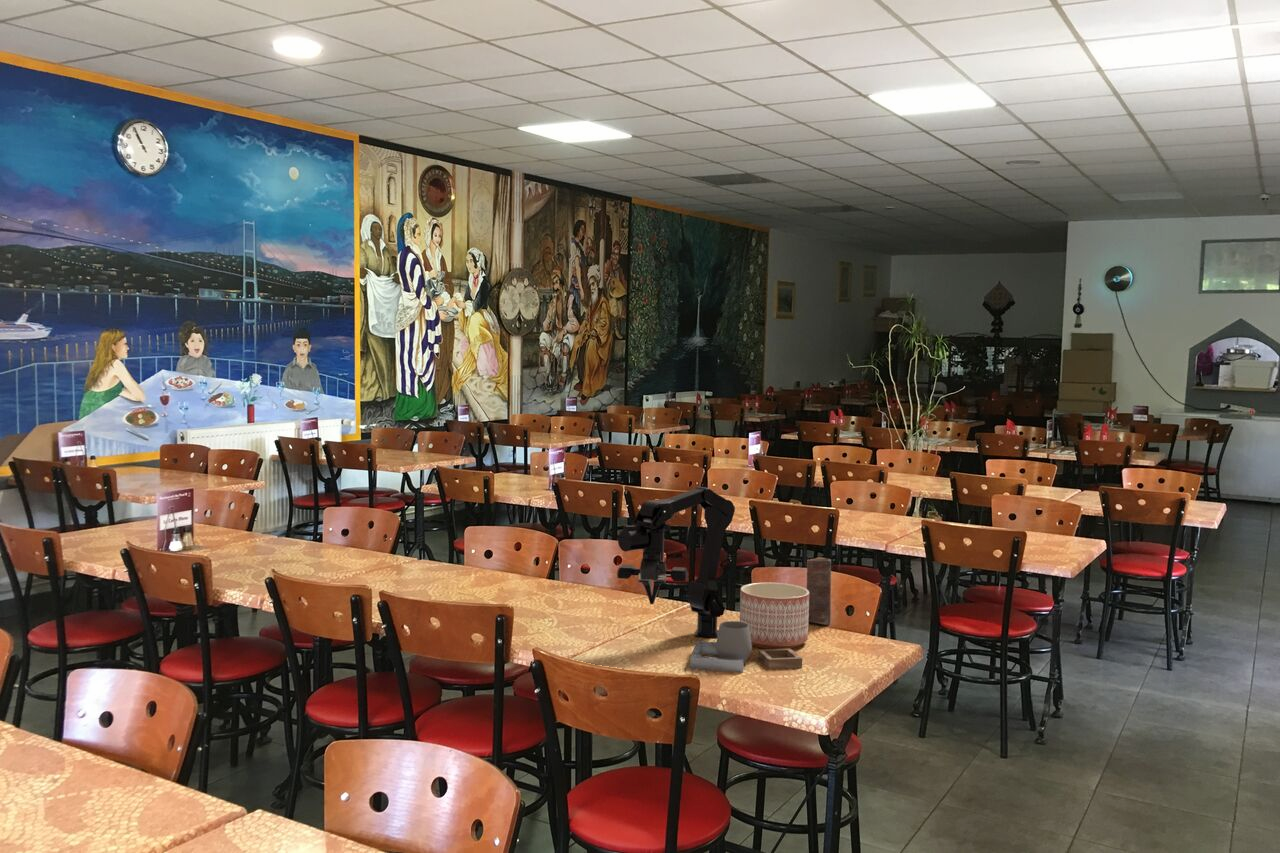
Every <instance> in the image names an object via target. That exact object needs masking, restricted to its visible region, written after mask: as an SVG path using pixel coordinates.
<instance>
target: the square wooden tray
mask: <svg viewBox="0 0 1280 853" xmlns="http://www.w3.org/2000/svg"><path fill="white" fill-rule="evenodd" d="M757 660H759V662H760V663H762V664H763V665H764V666H765V667H766V668H767V669H768V670H776V669H777V670H778V669H781V670H782V669H797V668H798V669H799V668H803V658H802V656H800V655H799V654H797V653H796V652H795V651H794V650H793V648H789V649H766V648H763V649H758V650H757Z"/></svg>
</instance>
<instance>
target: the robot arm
mask: <svg viewBox="0 0 1280 853" xmlns="http://www.w3.org/2000/svg"><path fill="white" fill-rule="evenodd" d="M694 506H699V507H700V508H701V509H703V510H704V521H705V524H706V528H707V529H706V533H705V539H704V545H703V550H702V556H701V560H700V566H699V569H698V570H699V571H698V576H697V578H696V579H695V580H694V581H690V582H689V583H688V591H687V593H686V596H687V602H688V603H689V606H690V609H691V612H693V613H694V612H695V613H696V614H697V618H696V619H697V620H696V622H697V624H696V625H697V626H696V629H695V633H694V636H695V637H699V638H700V637H703V638H716V639H717V636H718V631H719V629H718V618H720V617H722V616H724V614H725V612H726V611H725V610H726V607H725V606H724V605H723V604H722V603H721V601H720V600H719V587H718V585H717V582H716V578H717V573H718V568H719V561H720V557H721V551H722V546H723V540H724V534H725V531H726V530H727V529H728V527H729V526H730V525H731V523H732V521H733V519H734V518H733V517H734V515H735V511H736V508H735V505H734V503H733V502H732V500H730V499H726V498H725V497H723V496H721V495H719V494H718V493H716V492H714V491H713V490H712V489H711V488H709V487H704V486H696V487H694V488H692V489H690V490H687V491H685V492H681V493H678V494H677V495H674V496H671V497H669V498H664V499H663V498H662V499H652V500H645V501H644V502H642V503H641V506H640V508H639V510H638V512H637V514H636V515H635V518H634V520H633V521H632V523H631V525H628V524H627V525H623V530H621V531H620V532H619V535H618V537H617V543H618V546H619V548H620V550H621V551H622V552H633V551H640V550H642V557H641V558H642V559H641V561H640V566H639V568H635V567H636V566H635V564H620V566H619V567H618V569H617V574H616V575H617V579H626V580H627V579H630V578H631V577H632V576H638V580H637V581H638V583H642V585H643V587H644V589H645V591H646V594H647V598H648V601H649V604H650V605H654V604H655V601H656V599H657V595H658V592H659V590H660V587H661V585H662V584H665V583H666V581H667V580H668V578H671V580H672V581H673V582H681V583H682V582H683V583H684V582H686V581H687V579H688V577H689V576H688V572H689V571H688V569H687V567H683V566H682V567H678V566H673V568H672V569H671V570H670V569H667V562H666V561H664V552H665V551H664V549H665V532H666V531H670V530H671V527H670V526H669V525H668V524H667V522H668V521H670V520H671V519H672V518H673V516H674V515H675V514H677V513H680V512H682V511H685V510H687V509H691V508H693V507H694ZM652 581H653V583H652Z"/></svg>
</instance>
